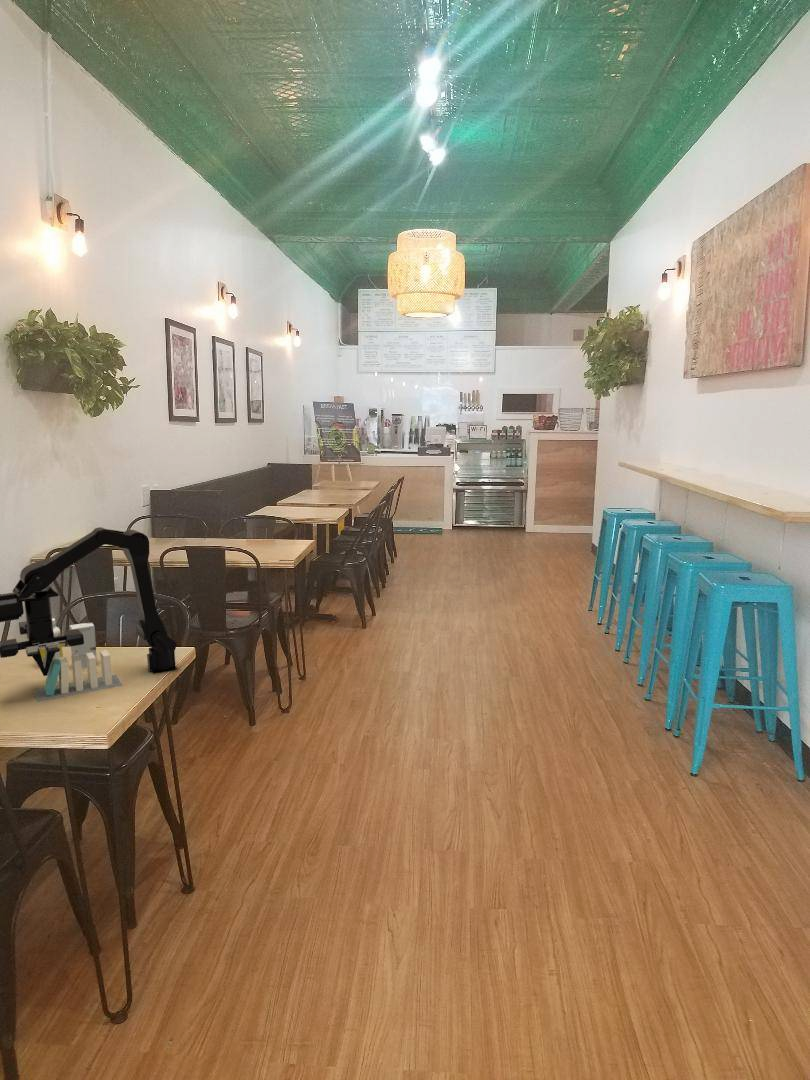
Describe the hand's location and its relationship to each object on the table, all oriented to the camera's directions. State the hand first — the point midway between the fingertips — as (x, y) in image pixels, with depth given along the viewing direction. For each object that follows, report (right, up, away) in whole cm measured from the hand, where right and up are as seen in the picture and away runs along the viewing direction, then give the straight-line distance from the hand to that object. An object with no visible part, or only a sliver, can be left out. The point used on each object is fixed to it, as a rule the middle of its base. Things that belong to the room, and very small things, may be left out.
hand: (45, 675), depth 181 cm
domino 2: (+6, -4, +5) cm, 9 cm away
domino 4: (+12, -3, +8) cm, 15 cm away
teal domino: (0, -4, +1) cm, 5 cm away
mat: (+6, -4, +5) cm, 9 cm away
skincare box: (+1, -2, +21) cm, 21 cm away
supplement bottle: (-10, -1, +24) cm, 26 cm away
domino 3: (+9, -4, +6) cm, 12 cm away
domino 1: (+3, -4, +3) cm, 6 cm away
